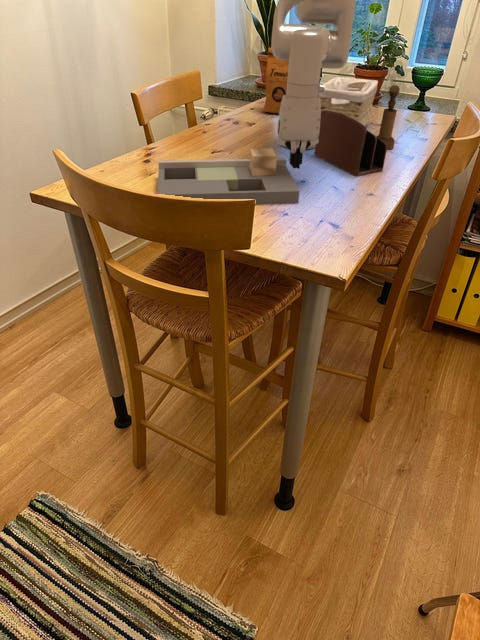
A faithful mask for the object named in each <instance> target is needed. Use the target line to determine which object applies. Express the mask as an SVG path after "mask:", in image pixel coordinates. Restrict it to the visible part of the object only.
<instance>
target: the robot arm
mask: <svg viewBox="0 0 480 640" xmlns="http://www.w3.org/2000/svg"><path fill="white" fill-rule="evenodd" d="M294 7H296V16H297V19H298V21H300V22H302V23H304V24H298V23H297V24H291V23H286V22H285V21H286V17H287V16H288V13H290V11H291V10H292V9H293V8H294ZM355 9H356V0H278V1H277V3H276V6H275V10H274V13H273V22H272V23H273V24H272V31H271V45H270V48H272V53H273V55H274V57H275V58H277V59H279V60H287V61H289V67H288V80H287V93H286V95H283V97H282V101H281V106H280V112H279V114H278V121H277V132H276V133H277V138H276V144H277V145H280V146H282V147H284V148H287V149H288V150H289V151H290V153H289V164H290V165H291V167H292V170H294V169H295V170H296V169H300V166H301V165H302V164H303V157H304V156H303V155H304V153H305V152H306V150H312V149H315V147H316V144H318V142H319V139H318V137H319V133H320V120H321V104H320V97H319V92H321V91H324V89H325V86H324V85H323V84H321V83H320V80H321V71H322V70H321V69H331V70H332V69H335V70H339V69H343V68H344V67H345V66H346V64H347V63H348V59H349V56H350V49H351V42H352V32H353V25H354V18H355V17H354V16H355ZM312 24H313V25H312ZM323 25H333V26H334V27H335V30H332V29H331V30H329V29H328V27H326V26H323Z"/></svg>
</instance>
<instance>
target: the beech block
mask: <svg viewBox="0 0 480 640" xmlns="http://www.w3.org/2000/svg"><path fill="white" fill-rule="evenodd" d="M249 150H250V151H249V159H250V170H251V173H252V176H276V163H277V158H278V156H277V153H276V152H275V150H274V148H271V147H270V148H250V149H249Z"/></svg>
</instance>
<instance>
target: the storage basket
mask: <svg viewBox="0 0 480 640" xmlns="http://www.w3.org/2000/svg"><path fill="white" fill-rule="evenodd" d="M378 83H379V81H378V80H375V79H367V78H366V79H364V78H356V77H355V78H353V77H342V76H337V77H333V78H332V79H329V80H327V81H326V82H325V83H323V84H322V85H324V86H325V89H324V91H321V92H319V97H320V104H321V112H322V111H324V110H326V111H332V112H337V113H341V114H343V115H346V116H348V117H350V118H352V119H354V120H356V121H358V122H359V123H361V124H362V125H364V126H365V127H366V126H367V125H368V122H369V118H370V114H371V111H372V107H373V103H374V99H375V95H376V93H377V90H378ZM349 87H352V88H359V89H361V90H360V91H348V89H349Z"/></svg>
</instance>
